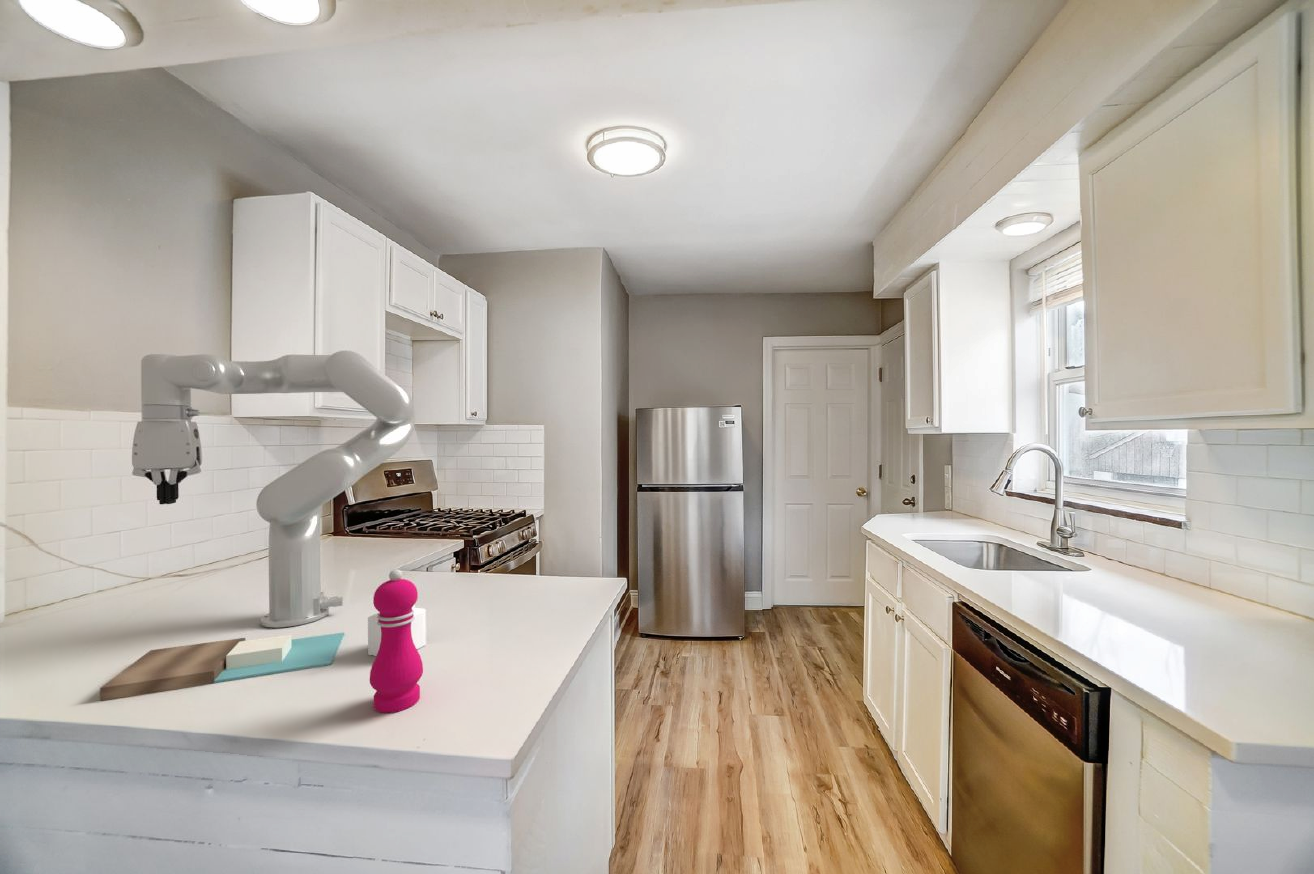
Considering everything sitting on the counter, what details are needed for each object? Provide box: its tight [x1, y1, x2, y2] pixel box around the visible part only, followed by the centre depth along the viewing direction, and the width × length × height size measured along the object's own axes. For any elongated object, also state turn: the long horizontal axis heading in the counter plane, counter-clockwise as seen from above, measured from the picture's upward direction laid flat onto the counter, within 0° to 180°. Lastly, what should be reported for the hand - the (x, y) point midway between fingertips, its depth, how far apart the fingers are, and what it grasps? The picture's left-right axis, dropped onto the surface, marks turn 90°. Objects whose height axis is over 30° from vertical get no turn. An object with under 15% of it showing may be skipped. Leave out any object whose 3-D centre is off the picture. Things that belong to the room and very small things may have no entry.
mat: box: [210, 631, 345, 684], centre depth 97 cm, size 17×16×1 cm
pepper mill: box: [369, 569, 424, 714], centre depth 79 cm, size 7×7×20 cm
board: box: [99, 637, 246, 702], centre depth 91 cm, size 14×16×2 cm
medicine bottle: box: [367, 603, 427, 657], centre depth 99 cm, size 7×7×12 cm
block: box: [226, 634, 292, 670], centre depth 96 cm, size 8×7×2 cm
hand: (167, 503), depth 109 cm, fingers closed
